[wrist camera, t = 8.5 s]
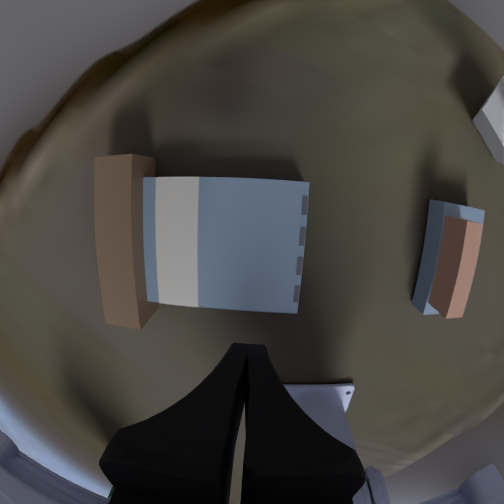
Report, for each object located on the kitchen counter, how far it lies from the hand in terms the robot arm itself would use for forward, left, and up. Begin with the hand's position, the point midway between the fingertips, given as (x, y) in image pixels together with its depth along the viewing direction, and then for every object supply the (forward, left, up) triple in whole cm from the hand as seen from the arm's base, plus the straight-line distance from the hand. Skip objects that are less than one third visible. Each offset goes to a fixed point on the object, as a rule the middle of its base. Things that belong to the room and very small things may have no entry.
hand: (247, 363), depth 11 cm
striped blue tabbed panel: (+3, +4, -10) cm, 11 cm away
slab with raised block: (+3, -16, -10) cm, 19 cm away
